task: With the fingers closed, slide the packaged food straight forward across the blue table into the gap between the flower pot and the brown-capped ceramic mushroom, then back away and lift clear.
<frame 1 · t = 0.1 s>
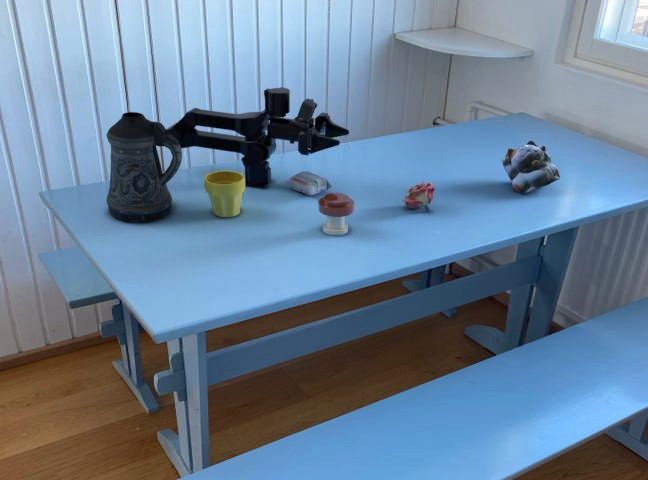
hand: (344, 137, 197), 17 cm above the table, tool horizontal, fingers open, 9 cm apart
beer stein: (146, 210, 193), on the table
flower: (416, 209, 202), on the table
lucky cat figurine: (527, 187, 218), on the table
mushroom: (335, 230, 188), on the table
packaged food: (306, 192, 208), on the table
flower pot: (226, 213, 194), on the table
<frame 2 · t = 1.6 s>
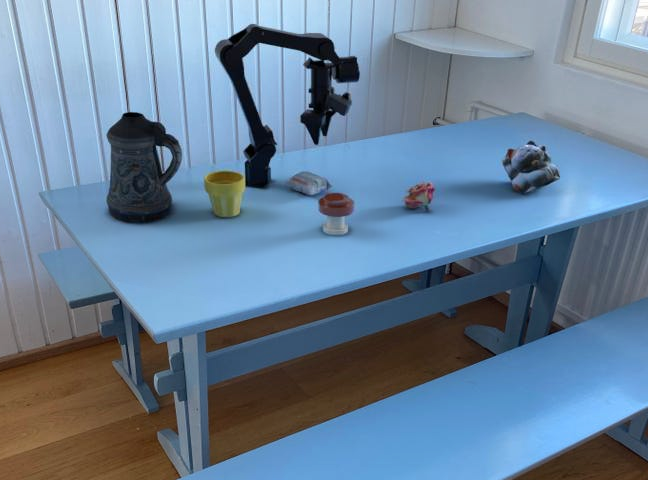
hand: (320, 140, 211), 11 cm above the table, tool pointing down, fingers open, 8 cm apart
nothing on the table moved.
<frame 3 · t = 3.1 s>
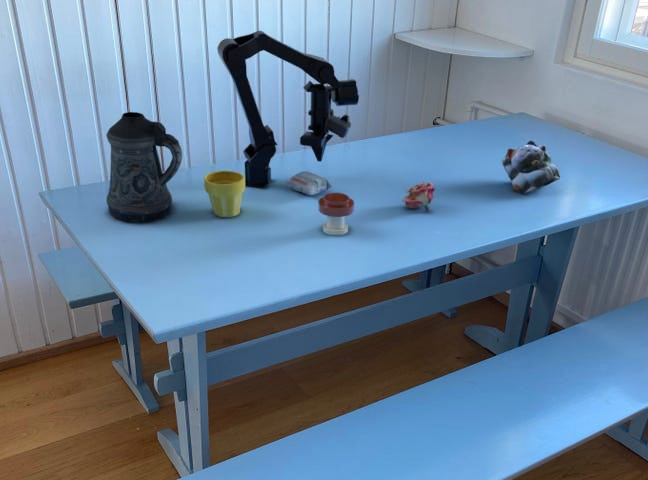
hand: (319, 161, 214), 5 cm above the table, tool pointing down, fingers closed
nothing on the table moved.
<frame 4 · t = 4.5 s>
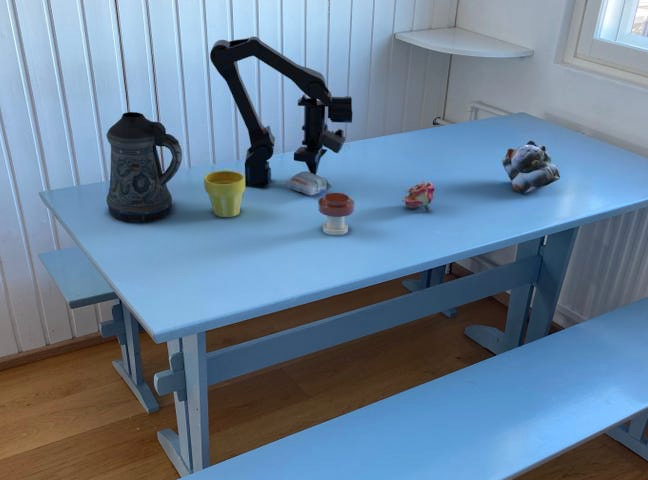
hand: (313, 175, 211), 2 cm above the table, tool pointing down, fingers closed
packaged food: (306, 192, 208), on the table, touching gripper
everything else where it was.
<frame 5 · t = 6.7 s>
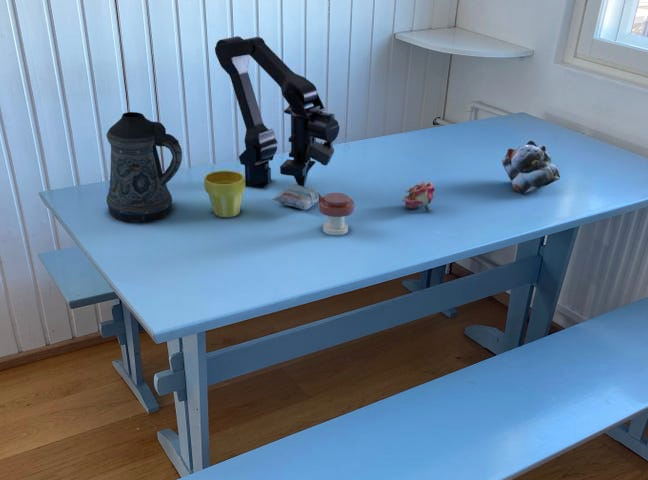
hand: (301, 188, 203), 3 cm above the table, tool pointing down, fingers closed
packaged food: (298, 206, 199), on the table, touching gripper
everything else where it was.
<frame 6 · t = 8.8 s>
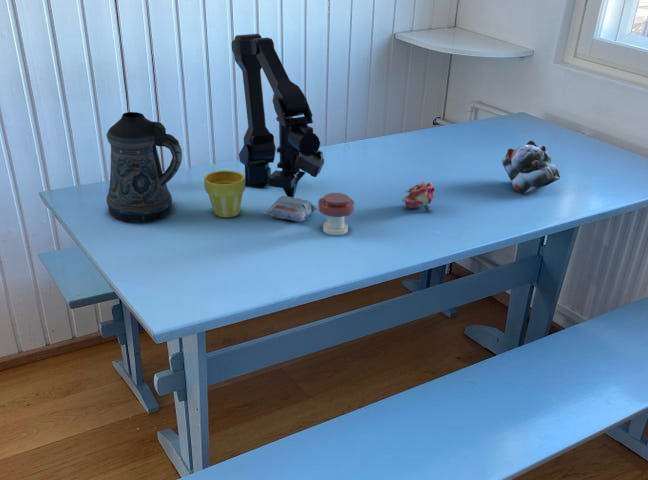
hand: (291, 200, 196), 3 cm above the table, tool pointing down, fingers closed
packaged food: (290, 219, 193), on the table, touching gripper
everything else where it was.
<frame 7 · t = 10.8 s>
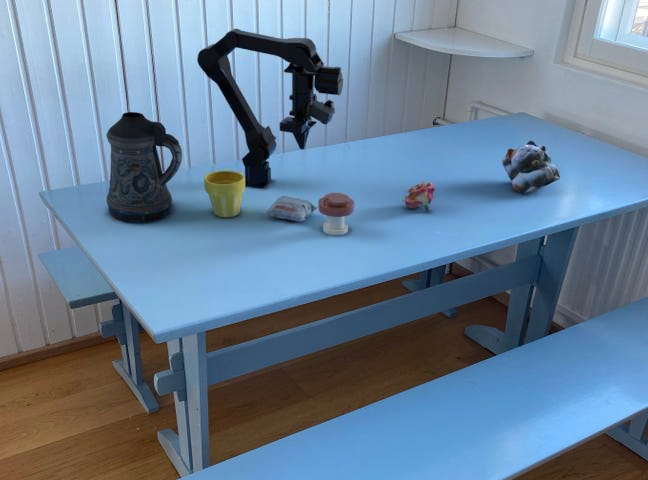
hand: (302, 149, 203), 12 cm above the table, tool pointing down, fingers closed
packaged food: (290, 218, 193), on the table
everything else where it was.
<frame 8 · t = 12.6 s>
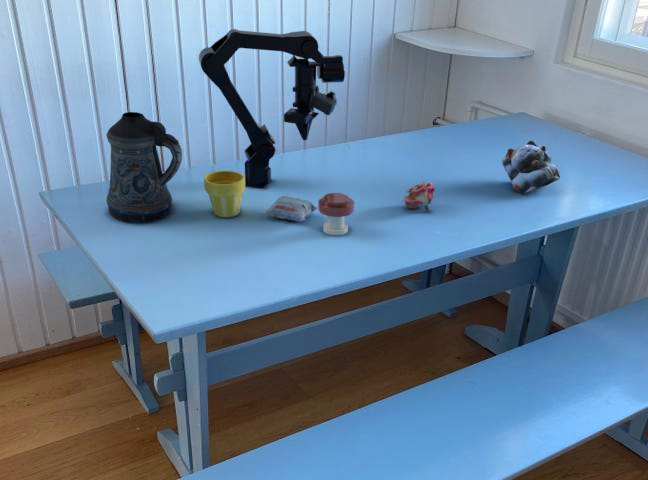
hand: (305, 139, 208), 12 cm above the table, tool pointing down, fingers closed
nothing on the table moved.
at the end: packaged food inside the target area (3.0 cm from its centre), on the table; flower pot moved 0.2 cm from its start; mushroom moved 0.0 cm from its start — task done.
